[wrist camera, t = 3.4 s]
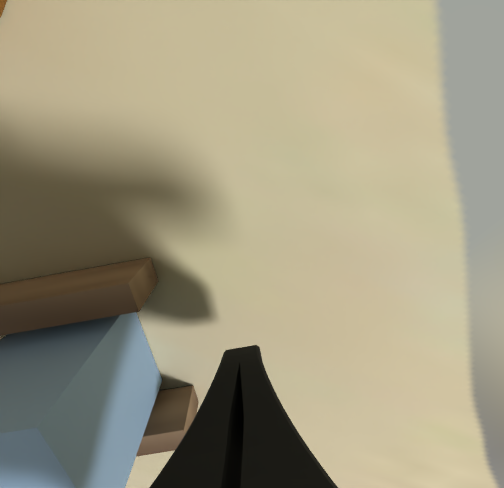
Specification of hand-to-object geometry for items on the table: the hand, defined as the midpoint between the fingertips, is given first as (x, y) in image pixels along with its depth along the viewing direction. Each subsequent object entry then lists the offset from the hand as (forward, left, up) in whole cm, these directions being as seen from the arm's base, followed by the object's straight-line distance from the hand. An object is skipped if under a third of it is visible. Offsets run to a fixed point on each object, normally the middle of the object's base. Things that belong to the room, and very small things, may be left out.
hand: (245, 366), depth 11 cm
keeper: (0, +7, -3) cm, 8 cm away
